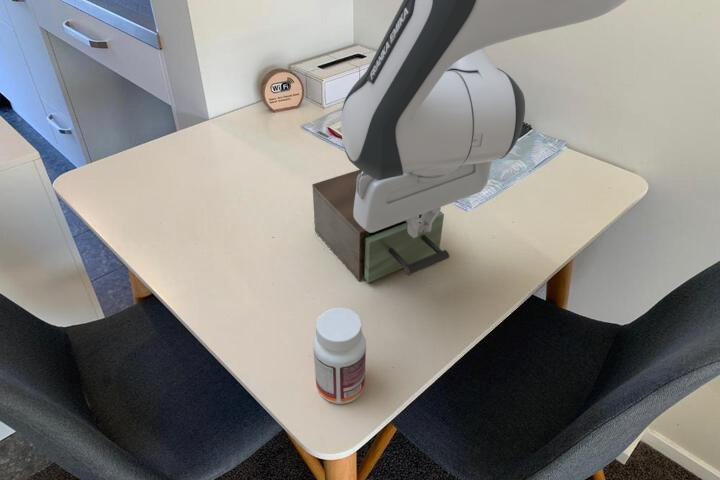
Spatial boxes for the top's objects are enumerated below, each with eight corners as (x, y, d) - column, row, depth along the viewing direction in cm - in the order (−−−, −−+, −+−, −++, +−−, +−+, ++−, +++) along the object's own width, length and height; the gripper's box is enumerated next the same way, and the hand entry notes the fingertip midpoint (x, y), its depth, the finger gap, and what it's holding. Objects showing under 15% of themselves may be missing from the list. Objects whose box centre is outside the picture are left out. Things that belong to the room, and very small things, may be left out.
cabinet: (434, 250, 86) (441, 202, 80) (359, 281, 80) (359, 232, 74) (385, 206, 96) (387, 160, 90) (314, 231, 90) (312, 184, 84)
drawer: (461, 273, 80) (469, 234, 75) (389, 306, 75) (392, 265, 70) (391, 211, 93) (394, 173, 88) (325, 234, 87) (324, 196, 82)
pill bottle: (367, 366, 68) (369, 305, 60) (362, 408, 63) (363, 347, 56) (320, 362, 68) (316, 301, 61) (311, 403, 63) (306, 342, 56)
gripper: (371, 181, 59) (368, 271, 68) (505, 137, 67) (487, 222, 76) (343, 156, 63) (344, 244, 72) (472, 118, 72) (459, 201, 80)
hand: (418, 232), depth 74 cm, fingers closed
